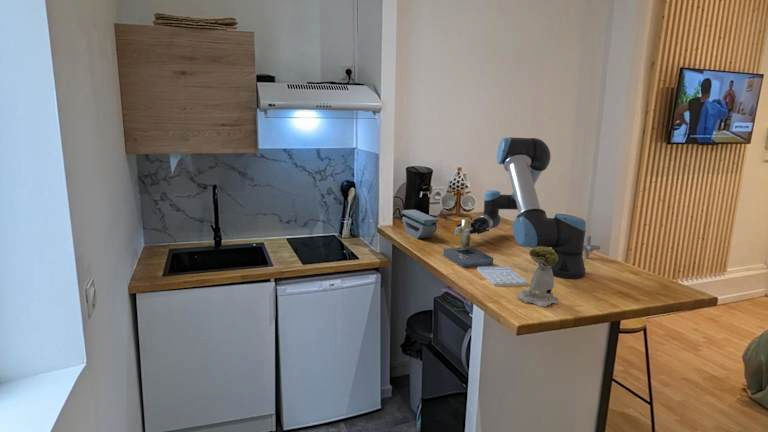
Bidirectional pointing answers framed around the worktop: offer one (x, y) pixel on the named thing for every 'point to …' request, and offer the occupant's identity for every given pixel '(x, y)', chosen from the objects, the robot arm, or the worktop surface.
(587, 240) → the pipe connector
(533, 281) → the mossy stone tower
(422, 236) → the grey boxy piece
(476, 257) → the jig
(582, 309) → the worktop surface
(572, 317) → the worktop surface
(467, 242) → the brushed metal cylinder
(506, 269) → the calculator
